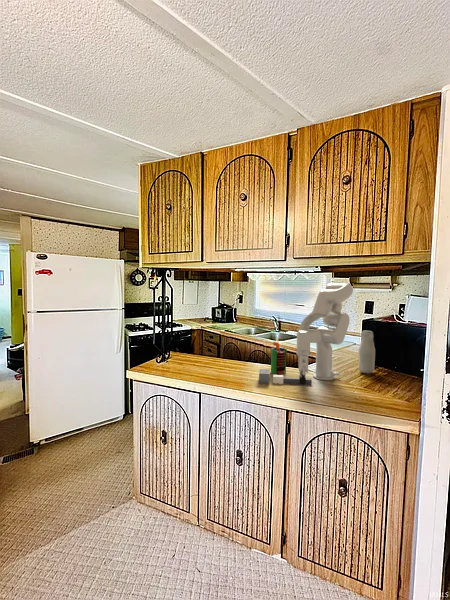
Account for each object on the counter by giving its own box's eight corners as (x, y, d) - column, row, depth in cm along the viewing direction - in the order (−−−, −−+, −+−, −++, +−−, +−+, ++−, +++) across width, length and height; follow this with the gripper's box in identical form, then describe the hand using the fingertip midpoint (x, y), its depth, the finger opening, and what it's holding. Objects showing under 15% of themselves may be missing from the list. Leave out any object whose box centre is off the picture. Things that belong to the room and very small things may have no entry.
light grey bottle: (373, 371, 220) (374, 329, 218) (375, 375, 210) (377, 332, 209) (357, 370, 223) (358, 328, 221) (358, 374, 213) (360, 331, 211)
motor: (280, 375, 209) (280, 344, 207) (267, 373, 214) (268, 342, 213) (287, 372, 217) (288, 342, 215) (275, 370, 222) (276, 340, 221)
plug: (310, 383, 195) (311, 376, 194) (311, 385, 191) (311, 378, 190) (272, 381, 198) (273, 374, 198) (272, 383, 194) (273, 376, 194)
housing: (269, 379, 201) (269, 369, 201) (269, 384, 191) (269, 374, 191) (259, 378, 202) (259, 368, 202) (258, 384, 192) (259, 373, 192)
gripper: (311, 355, 184) (310, 388, 185) (308, 349, 200) (307, 379, 201) (297, 355, 185) (296, 387, 186) (295, 348, 201) (294, 378, 202)
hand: (302, 383), depth 193 cm, fingers closed on plug, 3 cm apart
